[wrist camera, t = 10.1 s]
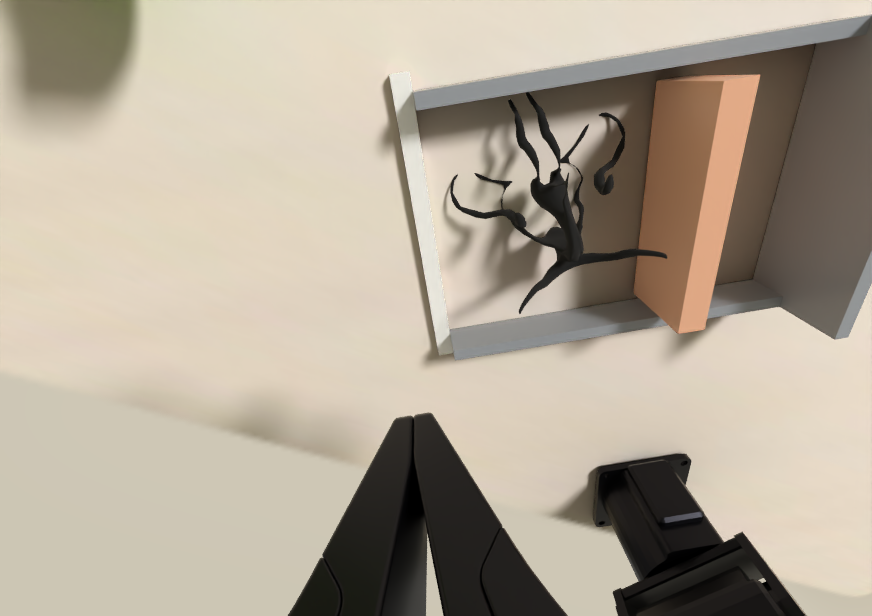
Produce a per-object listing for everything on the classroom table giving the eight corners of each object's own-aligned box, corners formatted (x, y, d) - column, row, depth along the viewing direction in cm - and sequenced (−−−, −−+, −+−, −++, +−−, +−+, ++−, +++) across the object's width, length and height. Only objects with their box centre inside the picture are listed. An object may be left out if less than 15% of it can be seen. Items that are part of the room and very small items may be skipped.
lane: (757, 298, 23) (842, 350, 18) (438, 351, 23) (447, 415, 18) (843, -3, 16) (1008, -33, 12) (389, 74, 16) (385, 72, 12)
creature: (428, 139, 19) (488, 296, 21) (424, 123, 13) (504, 333, 16) (596, 66, 18) (640, 237, 20) (660, 18, 12) (710, 257, 15)
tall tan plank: (655, 289, 22) (704, 329, 18) (633, 293, 22) (678, 333, 18) (685, 75, 17) (760, 74, 13) (656, 80, 17) (723, 80, 13)
